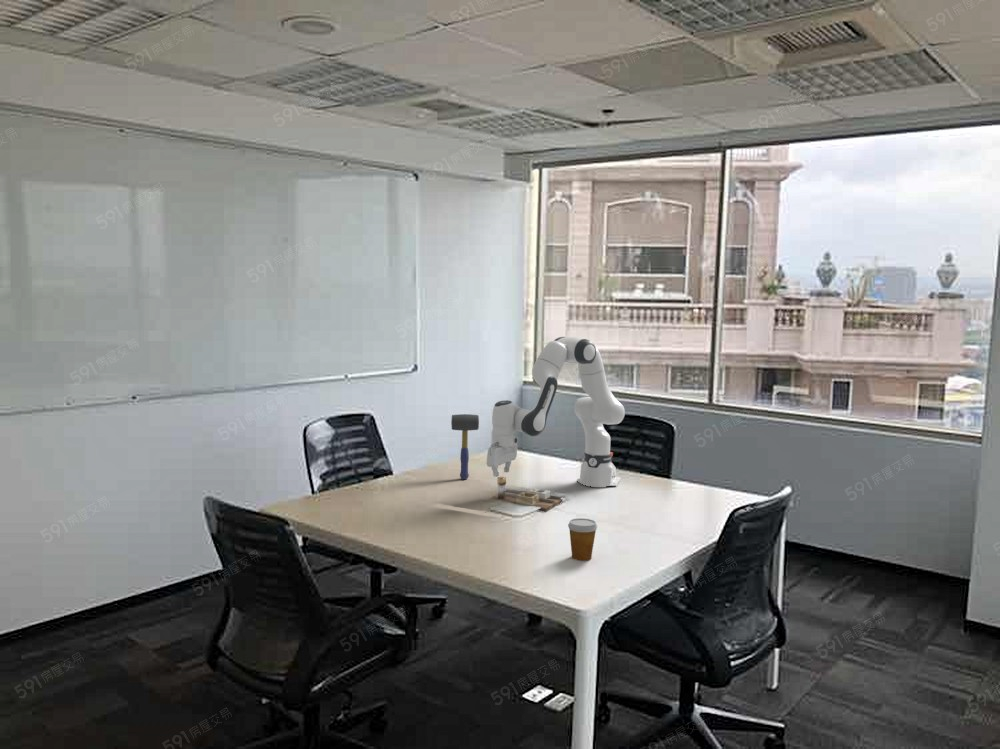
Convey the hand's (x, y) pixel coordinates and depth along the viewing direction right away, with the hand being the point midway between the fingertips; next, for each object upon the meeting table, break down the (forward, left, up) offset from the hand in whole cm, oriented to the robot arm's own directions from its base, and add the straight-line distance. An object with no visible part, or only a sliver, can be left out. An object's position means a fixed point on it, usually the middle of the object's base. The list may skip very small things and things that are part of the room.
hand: (501, 474), depth 327 cm
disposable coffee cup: (+47, +54, -12) cm, 72 cm away
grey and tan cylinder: (0, 0, -10) cm, 10 cm away
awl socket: (0, +12, -10) cm, 16 cm away
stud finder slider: (-8, +13, -10) cm, 18 cm away
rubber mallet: (-25, -32, -12) cm, 42 cm away
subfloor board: (-4, +9, -12) cm, 15 cm away
